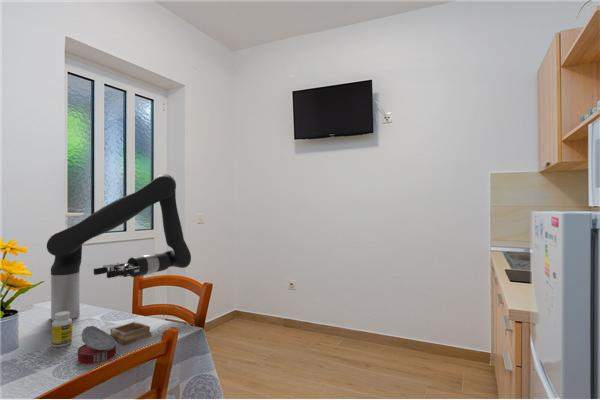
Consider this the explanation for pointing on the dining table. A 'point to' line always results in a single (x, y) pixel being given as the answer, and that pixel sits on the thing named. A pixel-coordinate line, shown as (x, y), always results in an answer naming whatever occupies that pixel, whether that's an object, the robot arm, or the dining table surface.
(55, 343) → the supplement bottle
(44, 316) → the dining table surface
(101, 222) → the robot arm
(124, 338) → the wooden box
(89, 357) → the canned food
